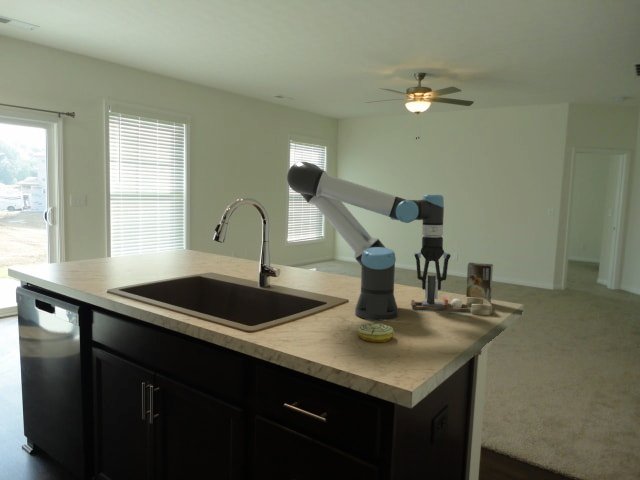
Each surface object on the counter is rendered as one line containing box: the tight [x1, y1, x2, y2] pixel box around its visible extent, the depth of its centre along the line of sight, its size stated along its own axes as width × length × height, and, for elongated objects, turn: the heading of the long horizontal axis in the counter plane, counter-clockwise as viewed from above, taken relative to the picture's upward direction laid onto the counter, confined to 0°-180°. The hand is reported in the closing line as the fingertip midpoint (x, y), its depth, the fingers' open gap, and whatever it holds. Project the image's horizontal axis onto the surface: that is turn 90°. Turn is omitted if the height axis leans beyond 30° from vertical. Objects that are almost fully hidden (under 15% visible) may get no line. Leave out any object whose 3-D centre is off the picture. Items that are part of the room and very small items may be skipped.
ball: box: [450, 298, 463, 308], centre depth 170 cm, size 4×4×4 cm
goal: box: [465, 296, 493, 316], centre depth 169 cm, size 7×12×4 cm, turn 172°
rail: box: [410, 299, 471, 313], centre depth 171 cm, size 21×8×2 cm, turn 82°
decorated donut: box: [357, 322, 395, 343], centre depth 135 cm, size 10×11×4 cm
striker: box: [421, 274, 449, 307], centre depth 170 cm, size 9×5×12 cm, turn 82°
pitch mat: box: [410, 304, 472, 315], centre depth 170 cm, size 28×12×1 cm, turn 82°
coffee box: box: [465, 262, 494, 305], centre depth 180 cm, size 9×6×16 cm
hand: (431, 298), depth 171 cm, fingers closed on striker, 3 cm apart
